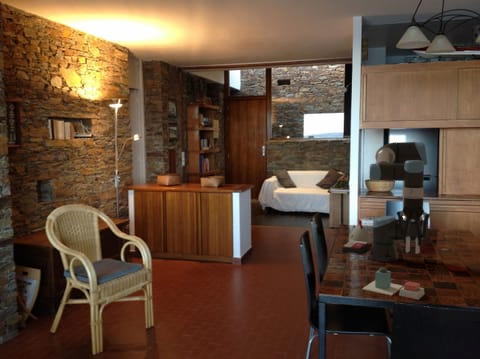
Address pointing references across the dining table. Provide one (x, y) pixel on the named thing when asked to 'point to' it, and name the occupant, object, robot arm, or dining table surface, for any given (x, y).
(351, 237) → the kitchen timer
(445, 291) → the dining table surface
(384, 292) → the note pad
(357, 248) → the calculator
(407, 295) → the button base
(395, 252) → the robot arm
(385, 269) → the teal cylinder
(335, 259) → the dining table surface
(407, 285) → the button
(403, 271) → the dining table surface
